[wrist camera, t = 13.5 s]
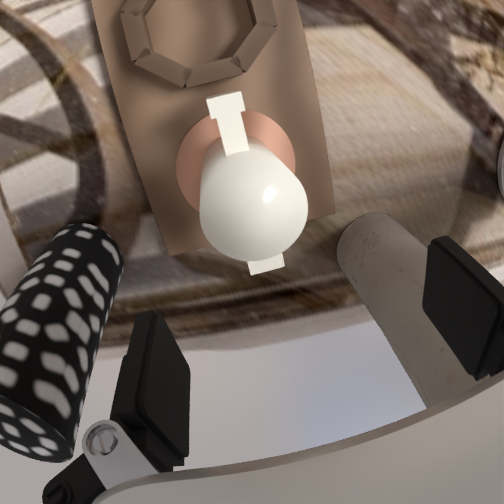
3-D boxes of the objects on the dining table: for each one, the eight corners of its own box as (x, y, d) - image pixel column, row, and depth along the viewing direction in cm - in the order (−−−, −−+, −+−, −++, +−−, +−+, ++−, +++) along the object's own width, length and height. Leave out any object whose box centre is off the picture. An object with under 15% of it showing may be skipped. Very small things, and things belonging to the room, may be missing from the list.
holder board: (276, -53, 18) (284, -67, 15) (331, 208, 31) (343, 222, 28) (93, -9, 18) (80, -18, 15) (170, 250, 31) (167, 267, 28)
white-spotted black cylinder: (117, 302, 33) (77, 473, 16) (49, 281, 31) (-25, 434, 13) (130, 235, 30) (68, 419, 12) (53, 213, 27) (-61, 364, 10)
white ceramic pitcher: (282, 205, 29) (316, 264, 20) (215, 222, 29) (222, 289, 20) (255, 84, 23) (285, 84, 15) (181, 103, 23) (166, 112, 14)
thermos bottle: (383, 280, 36) (516, 483, 12) (325, 273, 35) (453, 524, 10) (410, 220, 33) (592, 412, 9) (351, 205, 31) (556, 450, 7)
